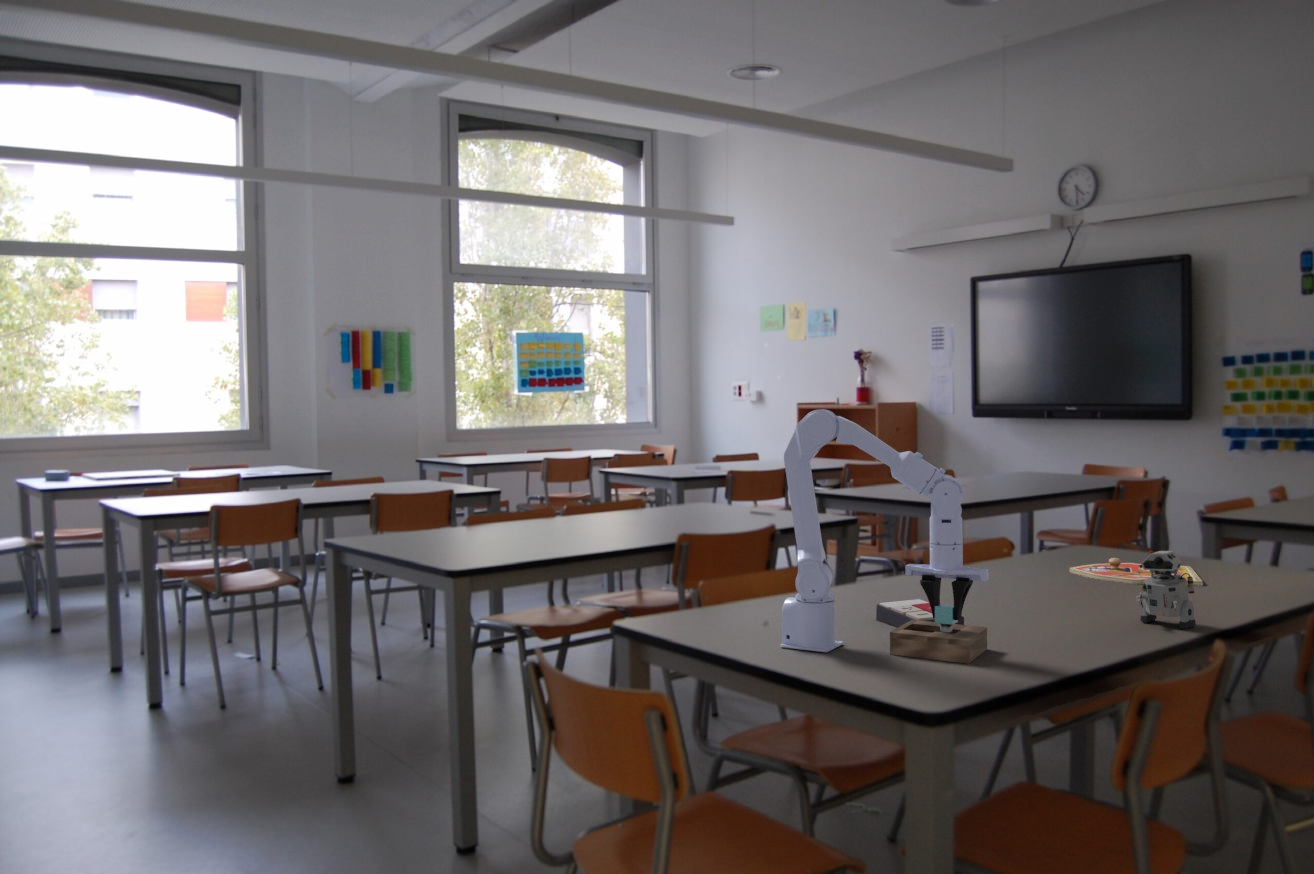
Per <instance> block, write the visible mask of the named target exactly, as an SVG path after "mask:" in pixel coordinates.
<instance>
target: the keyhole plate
mask: <svg viewBox="0 0 1314 874" xmlns="http://www.w3.org/2000/svg"><path fill="white" fill-rule="evenodd" d="M986 650H988V627H987V626H978V625H977V626H976V625H967V624H964V625H959V624H953V633H945V632H940V623H935V622H929V621H920V620H911V621H909V622H907V623H905V624H903V625H902V626H900V627H898V628H897V627H895V628H894V629H893V630H891V631H890V632H889V654H890V655H891V656H892V655H893V656H902V657H909V658H917V659H924V660H925V659H926V660H934V661H944V662H951V663H957V664H958V663H960V664H968V665H969V664H970V663H971V662H973V661H974V660H975V659H976V658H978V657H979V656H980V655H982V654H983V653H984V652H986Z"/></svg>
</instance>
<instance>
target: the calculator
mask: <svg viewBox="0 0 1314 874" xmlns="http://www.w3.org/2000/svg"><path fill="white" fill-rule="evenodd" d="M875 611H876V617H875V618H876V619H875V621H876V622H880V623H883V624H885V625H891V626H893V627H895V628H898V627H900V626H902V625H903V624H905V623H907V622H909V621H911V620H920V621H929V622H935V618H933V615H932V610H931V607H930V603H929V601H925V600H924V599H921V598H917V599H909V600H898V601H886V602H879V604H876V609H875ZM955 624H959V625H965V617H964V616H963V615H961V619H959V620H958V622H957V623H955Z"/></svg>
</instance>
